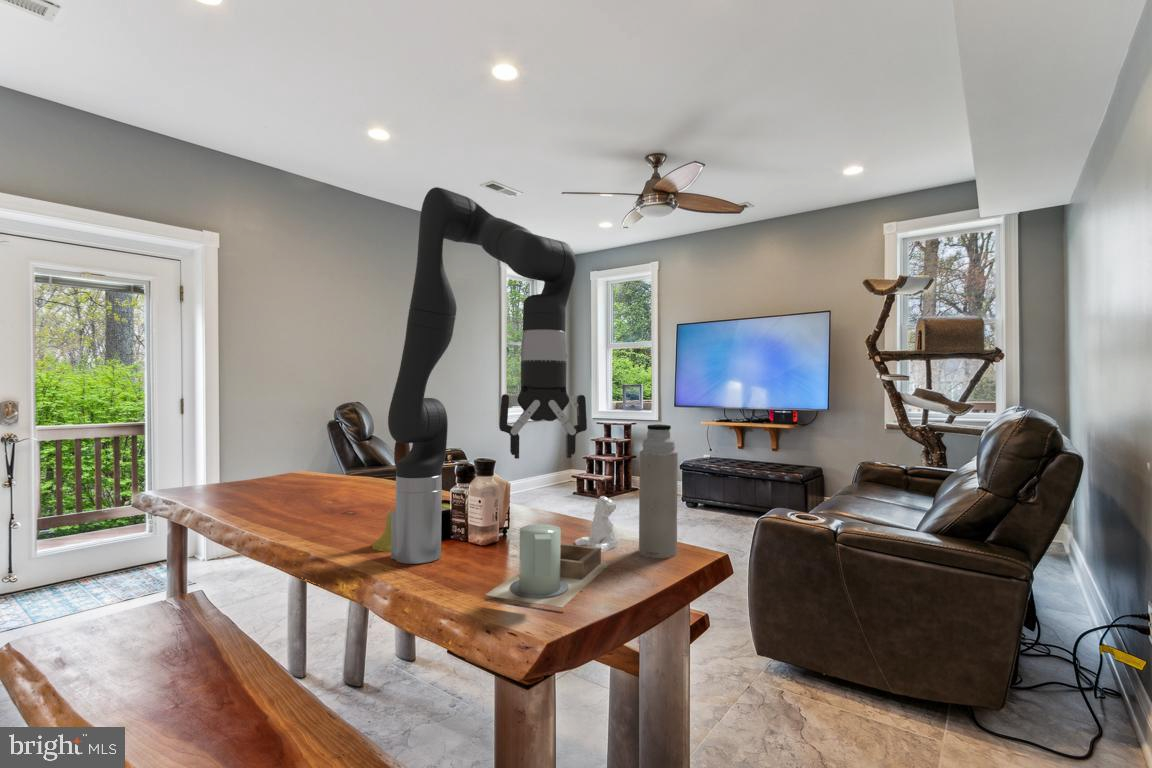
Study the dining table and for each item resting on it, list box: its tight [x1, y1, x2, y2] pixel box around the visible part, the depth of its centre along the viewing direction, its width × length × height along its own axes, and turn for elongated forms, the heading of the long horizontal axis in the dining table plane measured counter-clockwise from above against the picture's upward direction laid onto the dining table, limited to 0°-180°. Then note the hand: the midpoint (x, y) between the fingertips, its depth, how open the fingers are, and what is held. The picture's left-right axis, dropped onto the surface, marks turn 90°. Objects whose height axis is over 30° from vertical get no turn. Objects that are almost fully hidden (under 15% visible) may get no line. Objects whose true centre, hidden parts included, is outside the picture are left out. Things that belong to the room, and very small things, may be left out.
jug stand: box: [483, 543, 610, 615], centre depth 103 cm, size 14×24×4 cm, turn 159°
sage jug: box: [518, 523, 562, 595], centre depth 95 cm, size 10×7×10 cm
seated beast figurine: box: [574, 495, 620, 554], centre depth 124 cm, size 10×9×12 cm
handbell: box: [372, 441, 411, 553], centre depth 128 cm, size 12×12×25 cm
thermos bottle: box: [638, 423, 679, 559], centre depth 120 cm, size 8×8×28 cm
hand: (542, 457), depth 93 cm, fingers open, 8 cm apart
